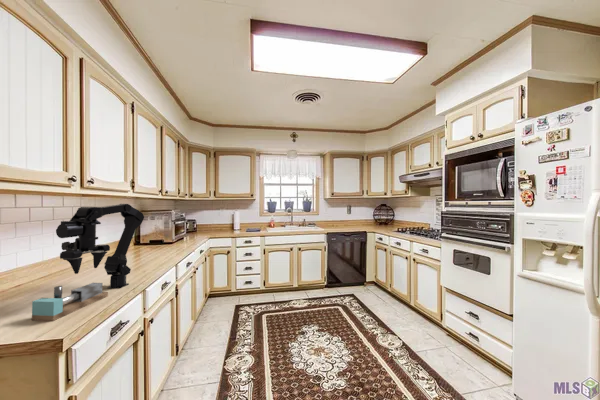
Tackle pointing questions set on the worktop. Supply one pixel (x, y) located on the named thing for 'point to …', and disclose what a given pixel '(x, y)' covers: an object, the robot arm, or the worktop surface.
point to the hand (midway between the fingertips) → (86, 270)
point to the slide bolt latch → (78, 301)
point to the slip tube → (68, 298)
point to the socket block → (47, 306)
